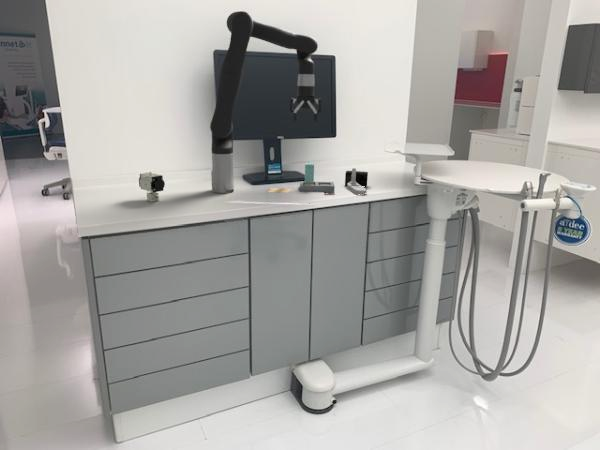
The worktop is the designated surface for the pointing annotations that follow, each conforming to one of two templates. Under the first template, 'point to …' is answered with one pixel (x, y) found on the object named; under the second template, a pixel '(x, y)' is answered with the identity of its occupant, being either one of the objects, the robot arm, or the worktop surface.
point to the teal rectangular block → (309, 173)
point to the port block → (318, 187)
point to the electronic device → (355, 184)
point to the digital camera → (357, 178)
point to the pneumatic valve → (151, 185)
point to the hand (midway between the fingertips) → (305, 121)
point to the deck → (279, 190)
